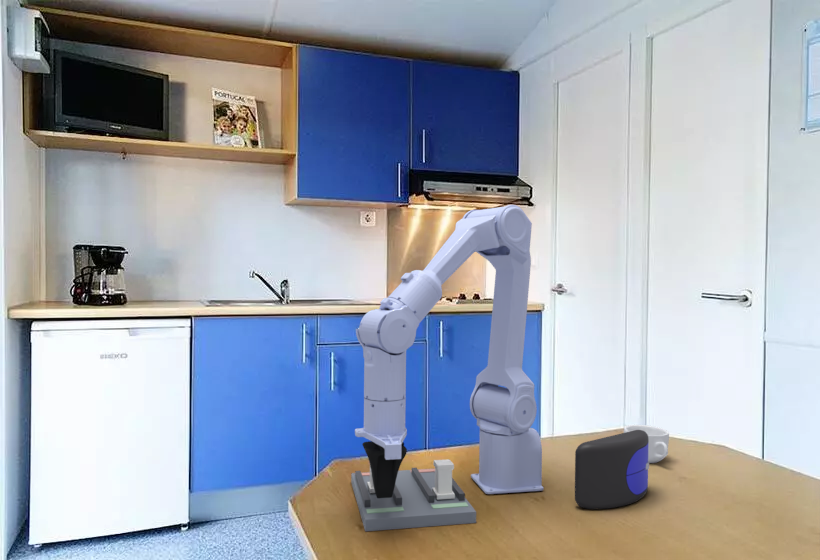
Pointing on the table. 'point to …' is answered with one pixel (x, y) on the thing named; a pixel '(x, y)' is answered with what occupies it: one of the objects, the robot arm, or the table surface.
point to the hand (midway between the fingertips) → (383, 496)
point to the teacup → (653, 441)
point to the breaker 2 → (443, 479)
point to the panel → (410, 503)
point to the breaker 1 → (370, 483)
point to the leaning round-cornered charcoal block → (612, 470)
